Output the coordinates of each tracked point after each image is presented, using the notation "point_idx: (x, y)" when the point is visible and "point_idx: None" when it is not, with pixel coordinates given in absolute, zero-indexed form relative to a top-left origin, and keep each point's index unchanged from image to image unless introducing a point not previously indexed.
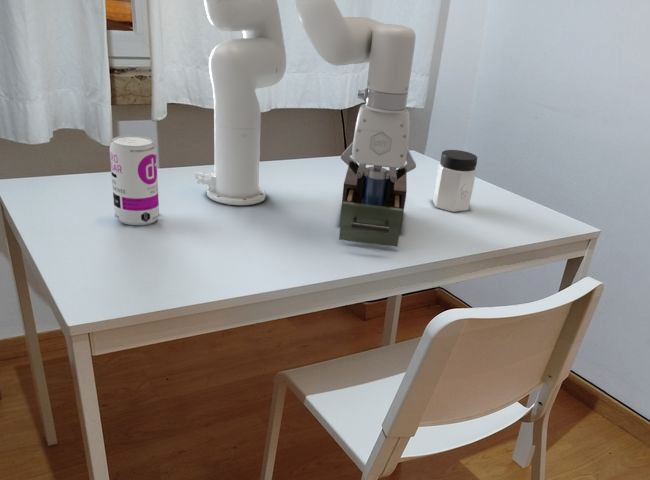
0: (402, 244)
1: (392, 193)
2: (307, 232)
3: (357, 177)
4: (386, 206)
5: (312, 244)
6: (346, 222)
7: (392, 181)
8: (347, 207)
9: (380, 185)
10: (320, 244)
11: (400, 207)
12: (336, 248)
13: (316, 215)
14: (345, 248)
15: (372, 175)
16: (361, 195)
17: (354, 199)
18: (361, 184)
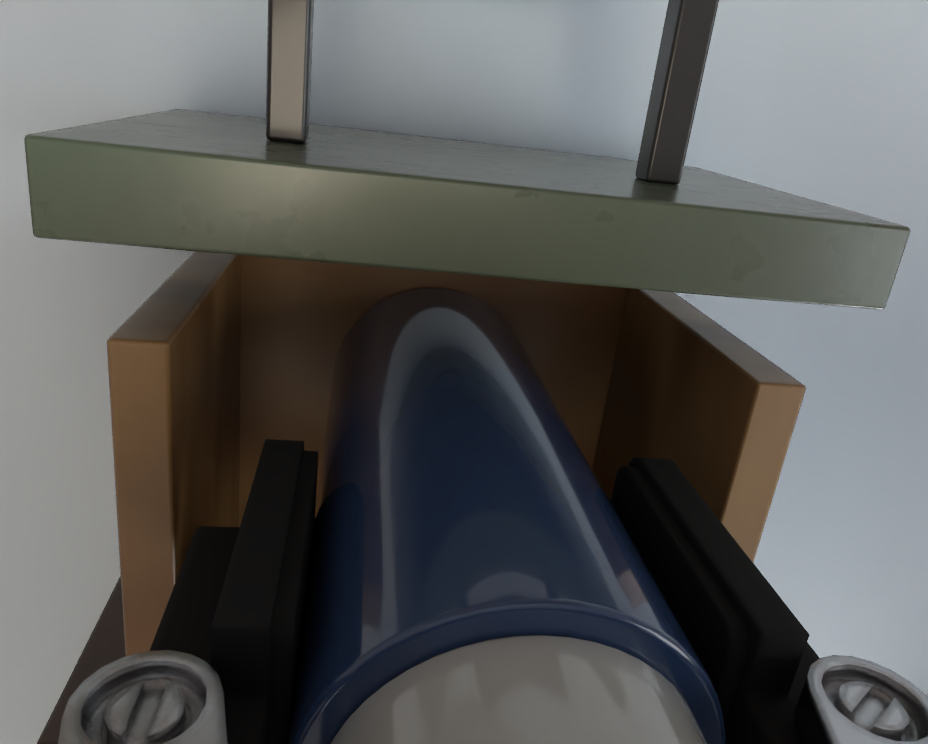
0: (140, 283)
1: (200, 551)
2: (875, 343)
3: (868, 664)
4: None
5: (886, 110)
6: (722, 182)
7: (179, 669)
8: (819, 211)
9: (427, 550)
10: (824, 125)
11: None
12: (710, 64)
13: None
14: (635, 81)
15: (645, 698)
16: (653, 472)
17: None
18: (738, 572)
